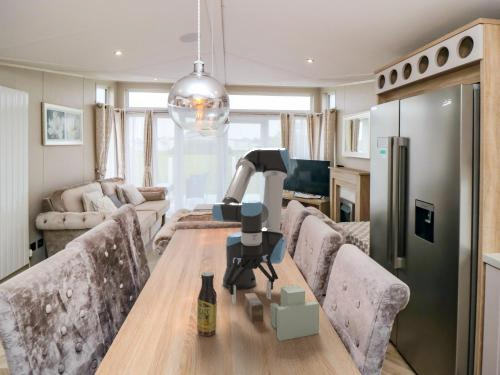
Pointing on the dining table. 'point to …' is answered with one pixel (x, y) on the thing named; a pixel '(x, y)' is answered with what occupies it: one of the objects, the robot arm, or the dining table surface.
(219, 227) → the dining table surface
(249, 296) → the brown boxy piece
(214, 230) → the dining table surface
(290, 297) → the pale green block
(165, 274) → the dining table surface
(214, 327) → the sauce bottle
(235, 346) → the dining table surface
